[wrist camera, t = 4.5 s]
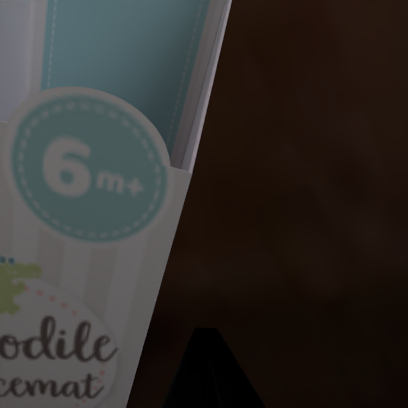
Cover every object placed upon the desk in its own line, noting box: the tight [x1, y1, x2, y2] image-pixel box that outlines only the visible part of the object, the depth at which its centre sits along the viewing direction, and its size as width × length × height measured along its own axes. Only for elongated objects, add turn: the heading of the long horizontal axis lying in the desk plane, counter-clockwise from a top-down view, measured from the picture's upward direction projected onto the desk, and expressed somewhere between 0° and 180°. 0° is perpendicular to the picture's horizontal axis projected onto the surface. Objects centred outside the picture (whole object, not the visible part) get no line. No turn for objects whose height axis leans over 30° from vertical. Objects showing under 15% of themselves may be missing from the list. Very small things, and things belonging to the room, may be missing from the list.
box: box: [0, 0, 232, 408], centre depth 8 cm, size 4×4×28 cm
